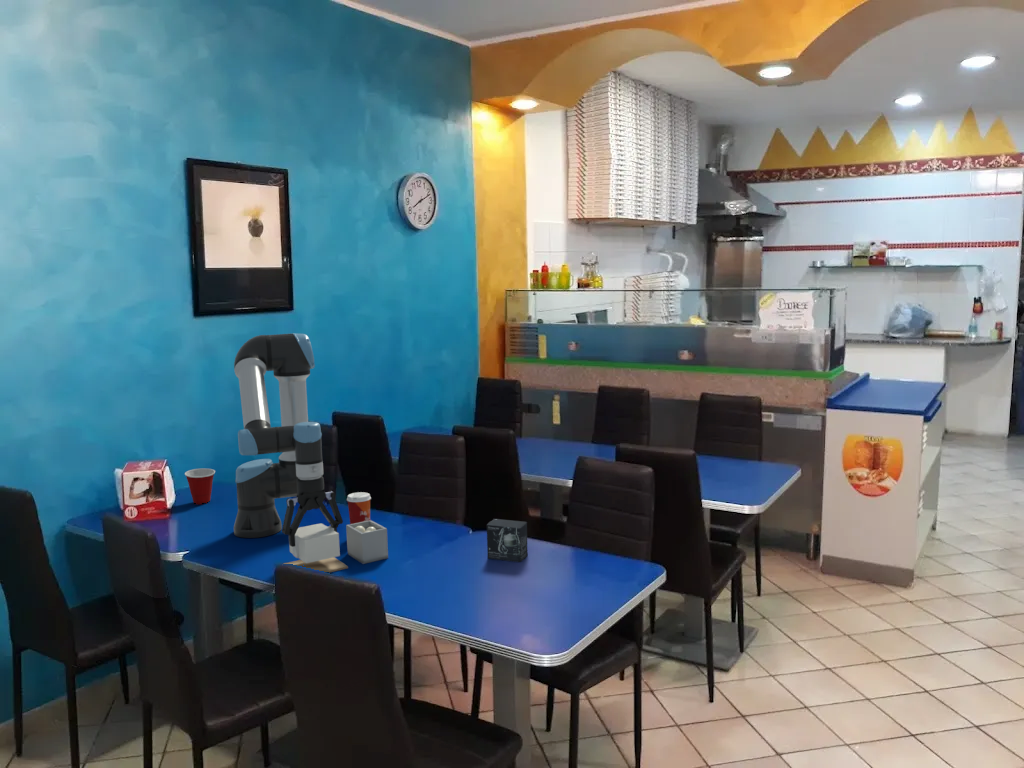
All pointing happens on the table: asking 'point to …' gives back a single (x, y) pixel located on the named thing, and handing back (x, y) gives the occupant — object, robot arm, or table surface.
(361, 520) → the paper cup
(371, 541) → the dough box
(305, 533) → the lid
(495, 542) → the box
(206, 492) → the plastic cup
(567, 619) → the table surface
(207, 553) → the table surface
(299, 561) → the trivet
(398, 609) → the table surface
